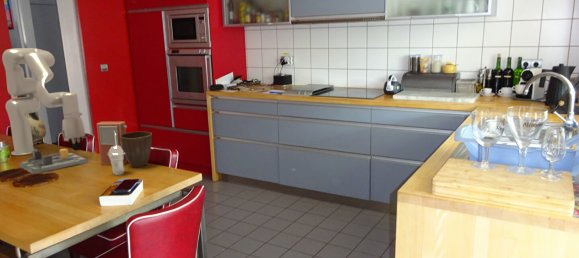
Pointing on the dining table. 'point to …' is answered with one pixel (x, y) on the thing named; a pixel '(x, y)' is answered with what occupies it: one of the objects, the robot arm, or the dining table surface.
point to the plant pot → (137, 147)
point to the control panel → (109, 138)
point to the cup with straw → (117, 157)
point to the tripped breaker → (63, 153)
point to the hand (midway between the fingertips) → (76, 150)
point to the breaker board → (50, 162)
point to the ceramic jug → (36, 127)
